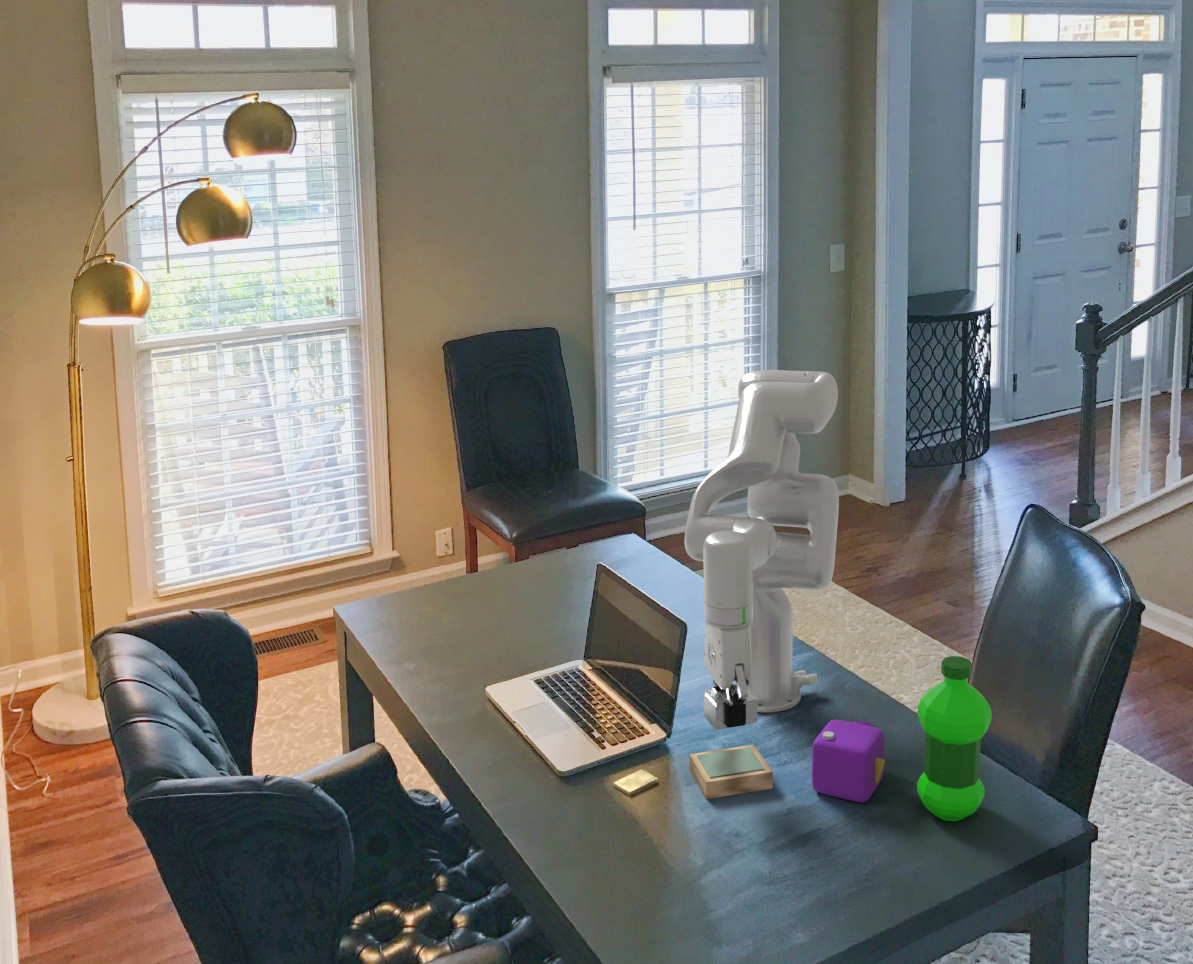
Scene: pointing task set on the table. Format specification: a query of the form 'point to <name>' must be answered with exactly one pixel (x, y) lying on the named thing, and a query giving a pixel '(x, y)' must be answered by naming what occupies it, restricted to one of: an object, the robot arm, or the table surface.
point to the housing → (716, 707)
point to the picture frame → (730, 771)
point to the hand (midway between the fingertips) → (729, 715)
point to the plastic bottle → (953, 743)
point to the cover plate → (635, 782)
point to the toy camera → (848, 760)
